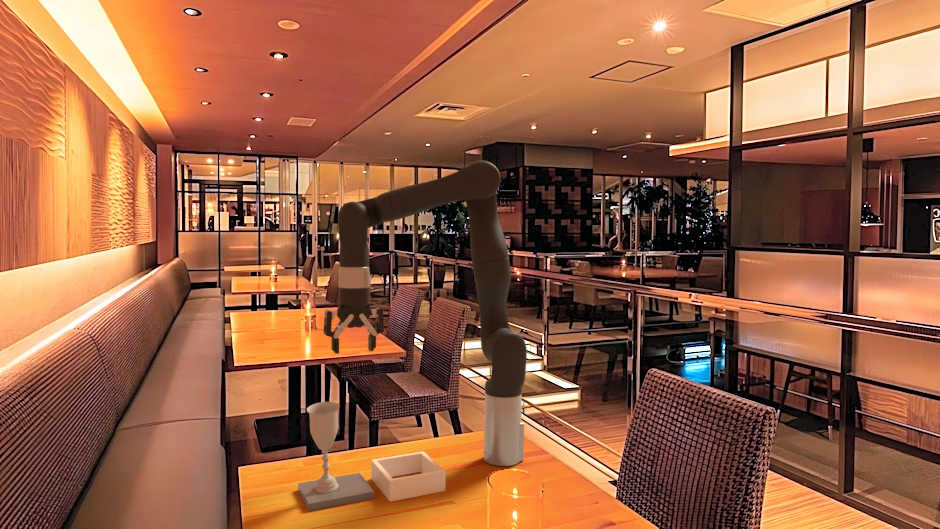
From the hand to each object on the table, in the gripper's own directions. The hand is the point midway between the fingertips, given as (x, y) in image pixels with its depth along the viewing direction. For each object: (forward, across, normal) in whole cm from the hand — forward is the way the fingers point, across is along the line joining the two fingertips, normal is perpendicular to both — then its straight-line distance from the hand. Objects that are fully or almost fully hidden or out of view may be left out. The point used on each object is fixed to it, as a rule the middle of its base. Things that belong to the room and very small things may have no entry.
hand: (354, 351), depth 147 cm
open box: (+28, +8, -16) cm, 33 cm away
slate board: (+28, -8, -14) cm, 32 cm away
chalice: (+27, -10, -14) cm, 31 cm away
